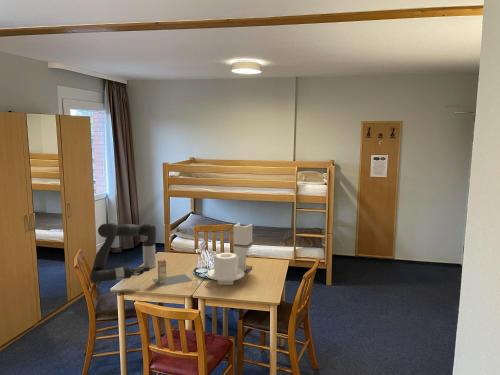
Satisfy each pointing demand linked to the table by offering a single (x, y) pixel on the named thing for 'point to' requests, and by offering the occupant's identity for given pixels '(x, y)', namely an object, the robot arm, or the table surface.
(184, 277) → the rubber mat
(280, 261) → the table surface
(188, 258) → the table surface
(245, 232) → the grey notched tower
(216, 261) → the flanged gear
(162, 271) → the birch block
